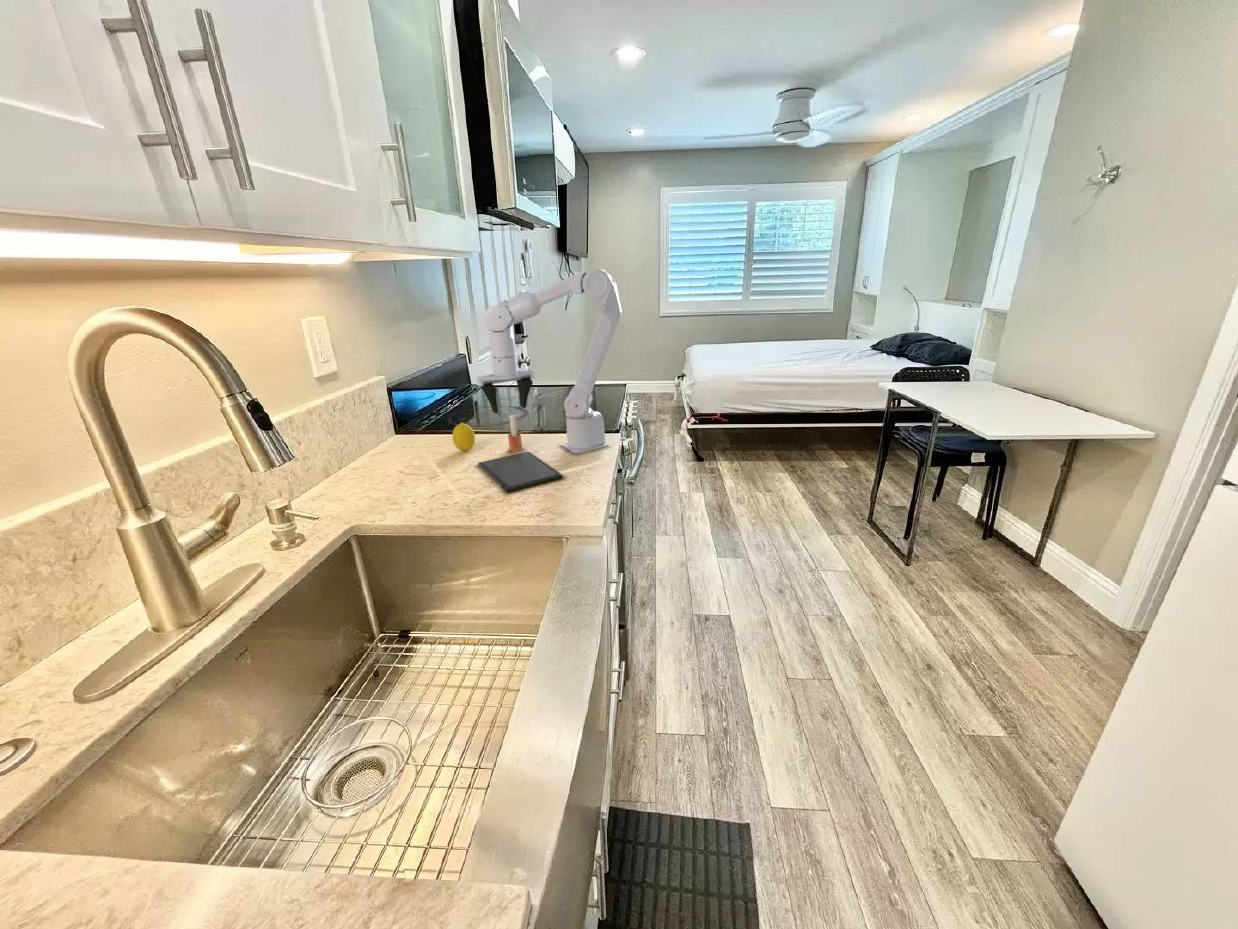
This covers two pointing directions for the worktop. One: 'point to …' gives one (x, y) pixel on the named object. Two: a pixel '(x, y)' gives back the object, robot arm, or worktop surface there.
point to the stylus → (513, 425)
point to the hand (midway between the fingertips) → (509, 409)
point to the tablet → (519, 471)
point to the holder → (515, 442)
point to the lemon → (463, 437)
